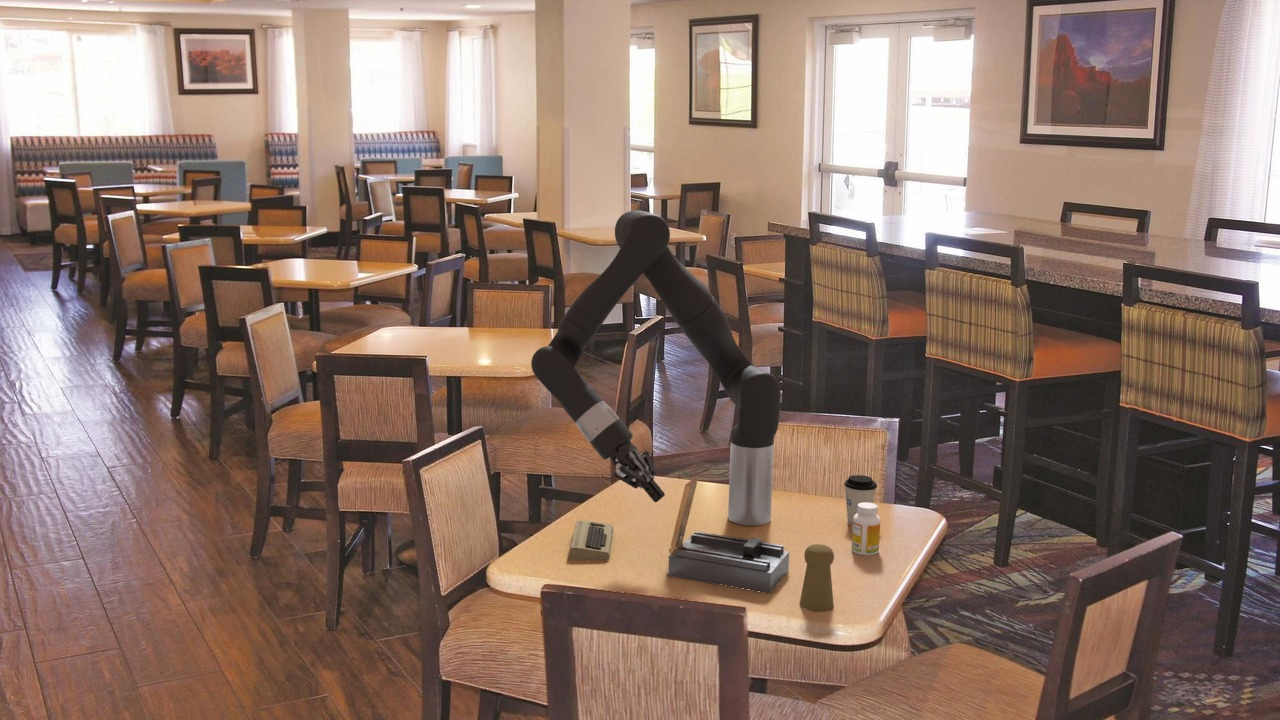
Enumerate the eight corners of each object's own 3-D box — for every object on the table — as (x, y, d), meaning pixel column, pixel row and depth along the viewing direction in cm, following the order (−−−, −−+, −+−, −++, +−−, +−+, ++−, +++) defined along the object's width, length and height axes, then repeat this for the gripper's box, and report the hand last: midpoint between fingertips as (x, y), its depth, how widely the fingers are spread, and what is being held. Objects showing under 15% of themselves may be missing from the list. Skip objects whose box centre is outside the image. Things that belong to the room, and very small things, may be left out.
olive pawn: (796, 598, 212) (799, 540, 210) (829, 597, 213) (832, 540, 211) (803, 612, 206) (806, 553, 204) (837, 611, 207) (840, 552, 205)
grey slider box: (690, 554, 233) (691, 521, 231) (788, 571, 225) (789, 536, 223) (668, 575, 222) (669, 540, 220) (769, 593, 214) (771, 557, 213)
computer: (609, 563, 229) (609, 546, 228) (568, 562, 229) (568, 545, 228) (613, 534, 244) (613, 519, 244) (574, 533, 244) (574, 518, 244)
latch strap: (682, 548, 228) (675, 546, 229) (698, 481, 224) (692, 478, 225) (674, 555, 225) (668, 553, 225) (691, 487, 221) (684, 484, 221)
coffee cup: (878, 520, 254) (881, 476, 252) (870, 530, 248) (873, 485, 246) (846, 515, 257) (849, 471, 255) (838, 525, 251) (840, 480, 249)
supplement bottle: (880, 548, 238) (883, 502, 236) (876, 557, 233) (879, 511, 231) (853, 545, 239) (856, 499, 237) (849, 554, 234) (852, 507, 232)
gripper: (602, 426, 221) (660, 497, 219) (630, 410, 233) (686, 478, 230) (576, 449, 224) (633, 520, 222) (605, 433, 236) (660, 500, 234)
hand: (660, 498), depth 226 cm, fingers closed
